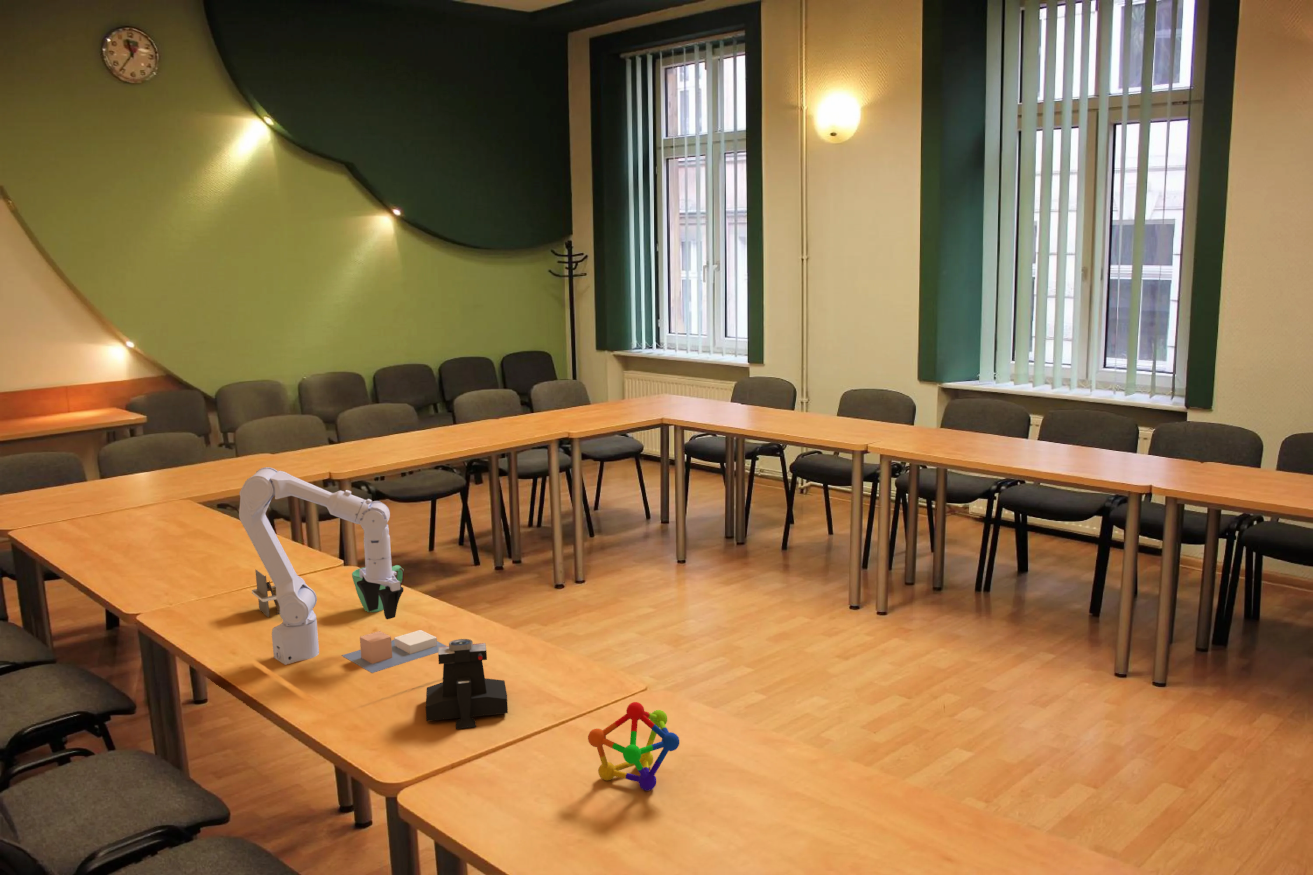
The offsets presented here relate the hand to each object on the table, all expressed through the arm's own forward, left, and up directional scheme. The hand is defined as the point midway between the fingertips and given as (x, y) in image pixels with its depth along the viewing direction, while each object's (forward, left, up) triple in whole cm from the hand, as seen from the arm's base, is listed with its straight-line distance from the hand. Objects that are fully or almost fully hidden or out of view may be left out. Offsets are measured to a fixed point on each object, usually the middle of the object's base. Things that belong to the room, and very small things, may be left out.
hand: (381, 613), depth 248 cm
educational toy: (+3, -85, -10) cm, 86 cm away
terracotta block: (-3, -3, -9) cm, 10 cm away
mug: (+16, +29, -10) cm, 34 cm away
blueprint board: (+2, -3, -10) cm, 10 cm away
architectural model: (-6, +46, -10) cm, 48 cm away
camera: (-4, -40, -10) cm, 41 cm away
